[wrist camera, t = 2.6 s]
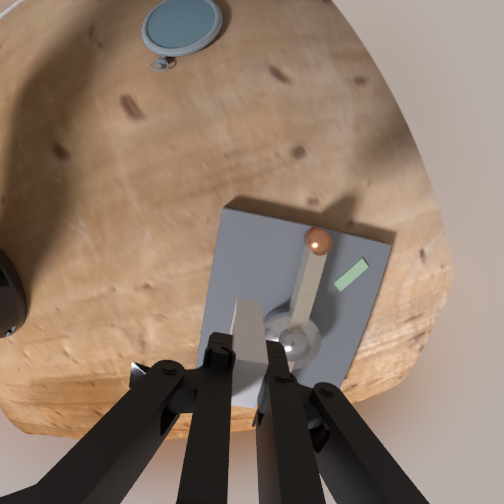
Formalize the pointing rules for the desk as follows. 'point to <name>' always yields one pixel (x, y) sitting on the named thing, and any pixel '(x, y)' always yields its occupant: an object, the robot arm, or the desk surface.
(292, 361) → the rotary pointer lever
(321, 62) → the desk surface
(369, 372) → the desk surface
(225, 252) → the stand
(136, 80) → the desk surface
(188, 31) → the pocket watch
